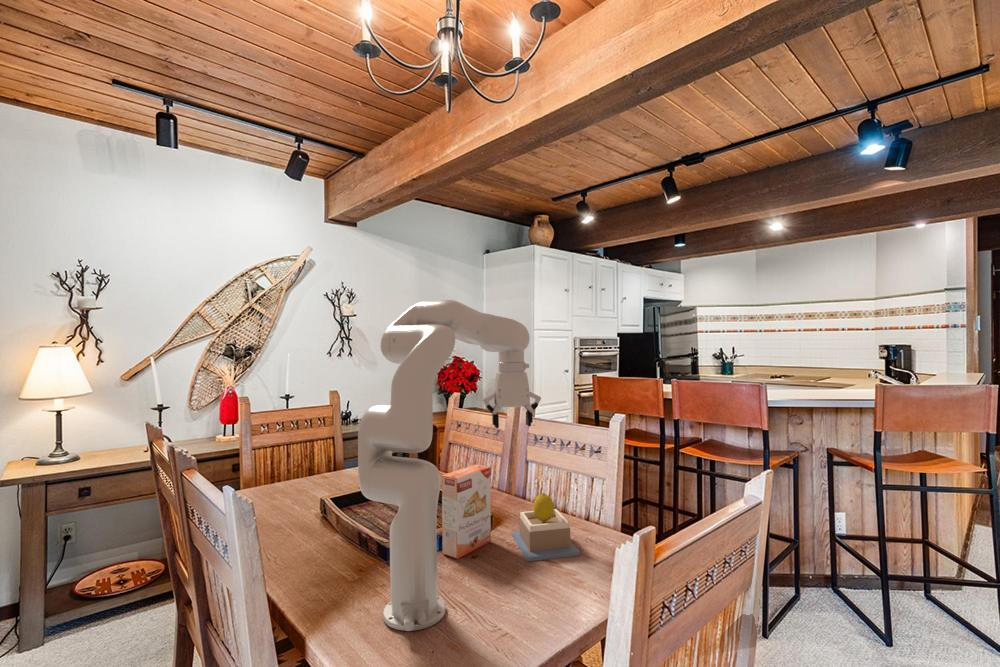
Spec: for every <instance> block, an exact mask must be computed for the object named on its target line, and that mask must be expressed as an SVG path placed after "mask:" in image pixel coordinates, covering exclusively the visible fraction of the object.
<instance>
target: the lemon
mask: <svg viewBox="0 0 1000 667" xmlns="http://www.w3.org/2000/svg"><path fill="white" fill-rule="evenodd" d="M554 509H555V506H554V502H553V499H552V498H551V496H549V495H548V494H546V493H545V492H542V493H541V494H539V495H537V496H536V497H535V498H534V502H533V510H532V511H534V514H535V516H536V518H537V519H539V520H540V521H542V522H543V523H545V522H546V521H548V520H549V519H551V517H552V516H553V513H554Z"/></svg>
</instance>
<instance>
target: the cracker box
mask: <svg viewBox="0 0 1000 667" xmlns="http://www.w3.org/2000/svg"><path fill="white" fill-rule="evenodd" d="M491 476H492V475H491V467H489V466H486V465H480V464H473V465H469V466H467V467H463V468H461V469H460V468H459V469H457V470H454V471H451V472H448V473H445V474H442V475H441V496H442V497H441V508H442V510H441V517H442V518H441V519H442V520H441V521H442V523H441V524H442V526H441V527H442V528H441V530H442V531H441V532H442V533H441V534H442V539H441V540H442V542H441V544H442V548H441V549H442V553H441V554H442V555H444V556H448V557H451V558H454V559H456V560H459V559H460V558H462V557H464V556H466V555H468V554H470V553H472V552H473V551H475V550H477V549H479V548H482V547H483V546H485V545H487V544H489V543H490V542H491V541H492V534H491V529H492V528H491V526H492V524H491V523H492V522H491V519H492V518H491V517H492V516H491V512H492V511H491V508H492V505H491V504H492V503H491V500H492V499H491V494H492V493H491V488H492V487H491V486H492V485H491Z"/></svg>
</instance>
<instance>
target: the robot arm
mask: <svg viewBox="0 0 1000 667" xmlns="http://www.w3.org/2000/svg"><path fill="white" fill-rule="evenodd" d="M456 340H459V341H461V342H463V343H466V344H469V345H477V346H479V347H480V348H481V349H482V350H483V351H485V352H489V353H498V372H496V373H495V378H494V388H493V389H494V390H493V393H491V394H488V395H487V396H486V397H483V399H482V402H483V404H484V406H485V407H486V409H487V410H488V411H489V412H491V414H492V418H491V419H492V420H491V421H492V426H493V425H494V428H495V429H498V428H500V426H499V425H500V424H499V422H500V421H499V417H500V416H499V414H498V413H499V411H500V410H501V408H521V407H524V408H525V409H526V411H525V425H526V426H528V427H532V423H534V422H533V413H534V412H535V410H536V409H537V408H538V406H539V404H540V402H541V399H542V397H541V396H539V395H537V394H535V393H534V392H531V391H530V384H529V378H528V374H527V372H526V369H529V368H530V364H529V363H526V362H525V351H526V350H527V348H528V346H529V344H530V333H529V330H528V328H527V327H526V326H525V325H524V324H523V323H521V322H519V321H518V320H515V319H513V318H508V317H503V316H500V315H499V316H498V315H494V314H490V313H486V312H481V311H478V310H477V309H474V308H472V307H470V306H468V305H466V304H464V303H462V302H459V301H457V300H454V299H440V300H438V299H437V300H424V301H423V300H422V301H419V302H417V303H415V304H414V305H412V306H410V307H409V308H407V310H405V311H404V312H403V313H402V314H401V315H400V316H399V317H397V319H395V320H394V321H393V322H392V323H390V324H389V326H388V327H387V328H386V329H385V330H384V332H383V334H382V336H381V338H380V351H381V354H382V355H383V357H384V358H385V359H386V360H388V362H391V363H394V364H399V366H398V367H397V369H396V370H395V373H394V375H393V377H392V379H391V388H390V404H377V405H373V406H371V407H369V408H368V409H367V410H366V411H365V412H364V414H363V416H362V417H361V419H360V423H359V425H358V432H357V461H358V462H357V465H358V466H357V467H358V470H357V471H358V485H359V489H360V491H361V492H360V493H361V494H362V496H364V497H365V499H368V500H370V501H373V502H378V503H383V504H390V505H393V506H397V507H398V511H397V513H396V514H395V516H394V517H393V519H392V521H391V524H390V525H389V526H390V527H389V569H390V570H389V571H390V574H389V578H390V579H389V580H390V581H389V582H390V583H389V584H390V601H389V602H388V603H387V604H386V605H385V606H384V607H383V612H382V619H383V621H384V623H385V625H387V626H388V627H390V628H391V629H394V630H396V631H397V630H398V631H403V632H405V631H406V632H414V631H419V630H423V629H428V628H430V627H432V626H435V625H436V624H437V623H439V622H440V621H441V620H442V619H443V618H444V616H445V615H446V603H445V601H444V599H443V598H441V596H438V594H439V593H438V590H439V589H438V539H437V538H438V537H437V535H438V534H437V518H438V517H437V515H438V514H437V512H438V502H439V497H440V491H441V486H442V475H441V474H440V471H439V469H438V468H437V466H436V465H435V464H433V463H431V462H430V461H428V460H424V459H420V458H411V457H403V456H401V457H400V456H393V452H397V453H405V454H406V453H407V454H417V453H423V452H424V451H427V449H429V448H430V445H431V443H432V440H433V431H434V430H433V429H434V423H433V422H434V421H433V418H434V416H433V405H434V404H433V394H434V393H433V390H434V382H435V379H436V376H437V374H438V373H439V370H440V369H441V367H443V365H444V363H446V362H447V360H448V359H449V358H450V357H451V355H452V353H453V352H454V350H455V345H456ZM531 398H533V400H534V402H533V403H532V404H531ZM492 400H493V403H494V406H491V404H490V401H492Z"/></svg>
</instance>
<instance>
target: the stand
mask: <svg viewBox="0 0 1000 667" xmlns="http://www.w3.org/2000/svg"><path fill="white" fill-rule="evenodd" d="M519 516H520V517H519V530H515V531H512V532H511V535H513V536H512V538H513V539H514V541H515V542H516V544H517V546H518V548H519V549H520V551H521V553H522V555H523V557H524V558H525V561H527V562H535V561H542V560H543V561H544V560H551V559H561V558H570V557H578V556H579V557H580V556H581V551H580V550H579V548H578V547H576V545H575V544H574V543H573V542H572V540H571V527H570V522H569V521H568V520H567V519H566V518H565V516H564V515H563V513H561V512H560V511H559V510H558V509H557V508H554V513H553V516H552V517H551V519H549V520H548V521H546V522H545V523H543V522H542V521H540V520H539V519H537V518H536V516H535V514H534V510H529V511H520V512H519Z"/></svg>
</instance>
